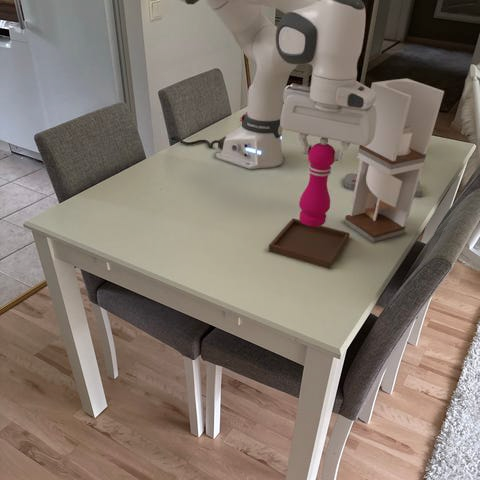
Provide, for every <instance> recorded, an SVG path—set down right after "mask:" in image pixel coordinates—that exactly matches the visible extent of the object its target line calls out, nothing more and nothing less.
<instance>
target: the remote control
mask: <svg viewBox="0 0 480 480" xmlns="http://www.w3.org/2000/svg"><path fill="white" fill-rule="evenodd" d="M357 174H358V173H353V172H352V173H346V175H345V176H344V186H345V188H348V189H349V190H354V189H355V184H356V179H357ZM421 196H422V185H421V183H420V180H419V181H418V185H417V188H416V192H415V195H414V197H419V198H421Z"/></svg>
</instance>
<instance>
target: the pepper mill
mask: <svg viewBox="0 0 480 480" xmlns="http://www.w3.org/2000/svg"><path fill="white" fill-rule="evenodd" d="M335 152H336V149H335V148H334V147H333V146H332V145H331V144H329V139H327V138H322V137H320V140H319V142H318V143H315V144H313V145H312V147H311V149H310V151H309V154H308V155H307V159H308V162H309V165H308V170H307V171H308V173H309V179H308V183H307V185H306V187H305V189H304V191H303V192H302V193H301V196H300V198H299V203H298V205H299V208H300V212H299V219H298V220H300V221H301V222H302V223H303V224H305V225H307V226H324V224H326V220H327V214H326V213H327V212H328V211H329V210H330V208H331V196H330V193H329V189H328V178H329V175H331V173H332V165H333V164H334V163H335V161H334V153H335Z"/></svg>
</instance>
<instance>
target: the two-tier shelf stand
mask: <svg viewBox="0 0 480 480" xmlns="http://www.w3.org/2000/svg"><path fill="white" fill-rule="evenodd" d="M370 89H372V90H374V91H375V92H376V93H377V97H376V100H375V102H374V104H373V105H374V106H375V108H376V112H377V120H376V129H375V135H374V139H373V140H372V142H371V143H370V144H368V145H367V146H361V145H358V146H359V147H358V152H357V158H356V159H358V160H359V164H358V169H357V173H356V174H357V179H356V184H355V189H353V194H352V199H351V204H350V209H349V214H346V215H345V217H344V224H346V225H347V226H349V228H352V229H353V230H355V231H356V232H357V233H359V234H360V235H362V236H363V237H364V238H366V239H368V240H369V241H370V242H372V243H375V242H379V241H383V240H385V239H388V238H392V237H397V236H399V235H402V234H404V233H405V230H406V226H407V222H408V219H409V217H410V214H411V213H410V212H411V208H412V206H413V201H414V199H415V196H414V195H415V192H416V188H417V185H418V181H419V182H420V177H421V174H422V171H423V167H424V163H425V160H426V156H427V153H428V150H429V145H430V143H431V140H432V136H433V132H434V128H435V125H436V123H437V122H436V121H437V119H438V115H439V111H440V107H441V104H442V101H443V98H444V94H445V90H443V89H440V88H436V87H434V86H431V85H427V84H425V83H421V82H419V81H415V80H413V79H410V78H399V79H389V80H383V81H375V82H371V86H370Z"/></svg>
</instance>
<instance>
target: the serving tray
mask: <svg viewBox="0 0 480 480" xmlns="http://www.w3.org/2000/svg"><path fill="white" fill-rule="evenodd" d="M349 240H350V232H347V231H344V230H340V229H335V228H332V227H329V226H325V225H321V226H307V225H305V224H303V223H302V222H301V221H300V219H297V218H294V217H292V219H291V220H290V221H289V222H288V223H287V224H285V226H284V228H283V229H282V230H281V231H280V232H279V233H278V234H277V235H276V237H274V239H273V240H272V241H271V242H270V243H269V244H268V252H270V253H272V254H273V253H274V254H276V255H280V256H284V257H287V258H291V259H295V260H298V261H301V262H304V263H308V264H312V265H315V266H319V267H322V268H326V269H331V268H332V266H333V264H334V263H335V261H336V260H337V259H338V257H339V255H340V253H341V252H342V250H343V249H344V247H345V245H346V244H347V243H348V241H349Z"/></svg>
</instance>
